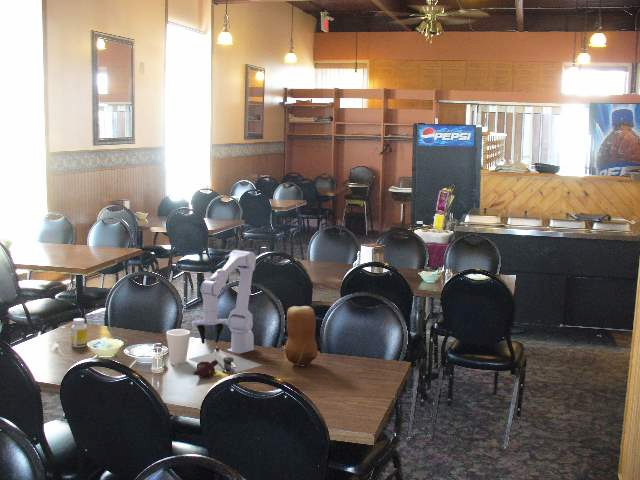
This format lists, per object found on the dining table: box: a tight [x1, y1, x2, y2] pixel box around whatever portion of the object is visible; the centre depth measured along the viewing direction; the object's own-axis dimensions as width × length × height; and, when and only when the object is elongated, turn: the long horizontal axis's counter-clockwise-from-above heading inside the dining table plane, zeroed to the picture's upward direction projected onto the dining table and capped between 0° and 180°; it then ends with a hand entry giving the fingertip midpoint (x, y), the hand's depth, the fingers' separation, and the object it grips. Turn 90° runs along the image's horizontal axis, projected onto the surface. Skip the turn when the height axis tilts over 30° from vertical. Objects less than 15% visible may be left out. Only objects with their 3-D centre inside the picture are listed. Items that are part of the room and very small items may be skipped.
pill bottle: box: [70, 317, 88, 348], centre depth 336 cm, size 6×6×12 cm
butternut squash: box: [284, 305, 319, 367], centre depth 320 cm, size 14×13×25 cm
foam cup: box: [166, 328, 191, 366], centre depth 317 cm, size 10×9×13 cm
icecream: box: [192, 360, 218, 379], centre depth 301 cm, size 7×7×15 cm
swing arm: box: [213, 346, 234, 369], centre depth 315 cm, size 20×4×4 cm, turn 23°
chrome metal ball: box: [221, 363, 235, 374], centre depth 308 cm, size 5×5×4 cm
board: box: [188, 350, 263, 375], centre depth 320 cm, size 18×26×1 cm
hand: (209, 342), depth 316 cm, fingers open, 5 cm apart
